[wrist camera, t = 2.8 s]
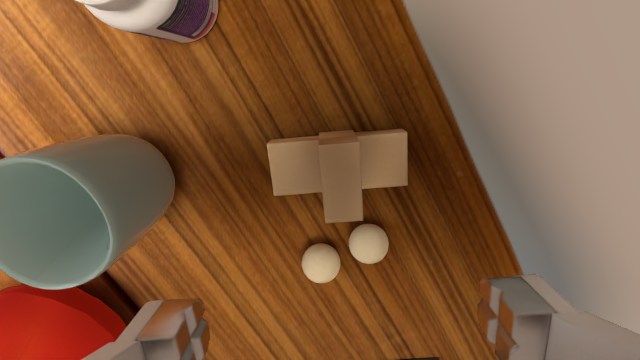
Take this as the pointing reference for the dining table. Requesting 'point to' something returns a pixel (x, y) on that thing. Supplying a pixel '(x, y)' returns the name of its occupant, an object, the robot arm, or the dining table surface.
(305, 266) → the crumb
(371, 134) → the brush
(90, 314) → the tomato
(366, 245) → the crumb
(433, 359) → the dustpan
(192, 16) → the pill bottle
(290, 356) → the dining table surface
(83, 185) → the cup
